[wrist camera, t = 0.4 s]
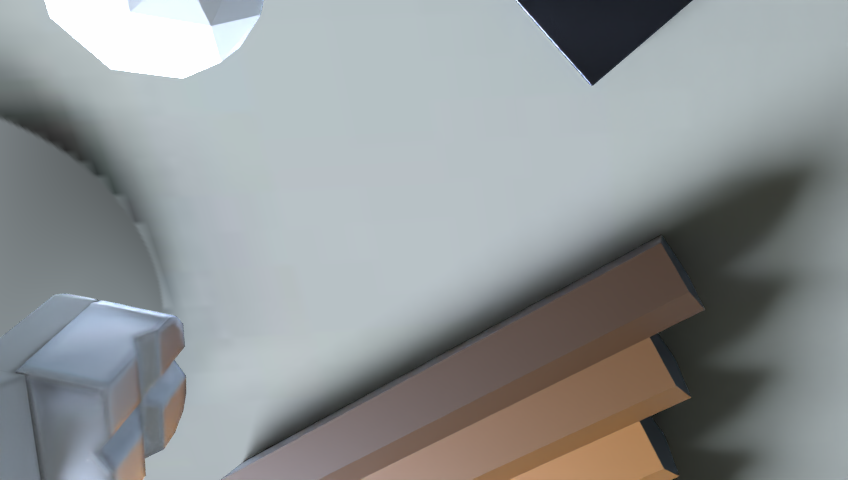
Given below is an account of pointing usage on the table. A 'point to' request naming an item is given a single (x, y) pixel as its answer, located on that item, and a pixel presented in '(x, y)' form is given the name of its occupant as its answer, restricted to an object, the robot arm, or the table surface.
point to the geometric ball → (158, 31)
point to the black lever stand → (599, 28)
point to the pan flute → (522, 394)
